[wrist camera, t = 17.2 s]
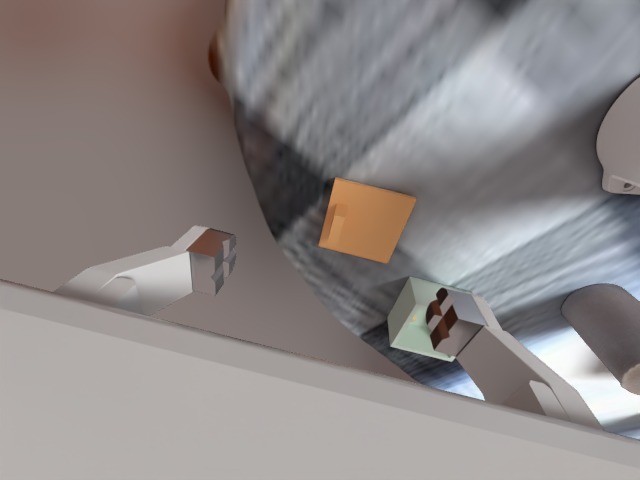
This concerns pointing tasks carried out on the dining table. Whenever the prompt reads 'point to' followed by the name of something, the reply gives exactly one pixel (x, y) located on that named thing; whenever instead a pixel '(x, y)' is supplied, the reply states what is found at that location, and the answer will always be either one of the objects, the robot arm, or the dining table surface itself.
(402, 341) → the tub
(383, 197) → the lid
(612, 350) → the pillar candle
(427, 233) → the dining table surface
